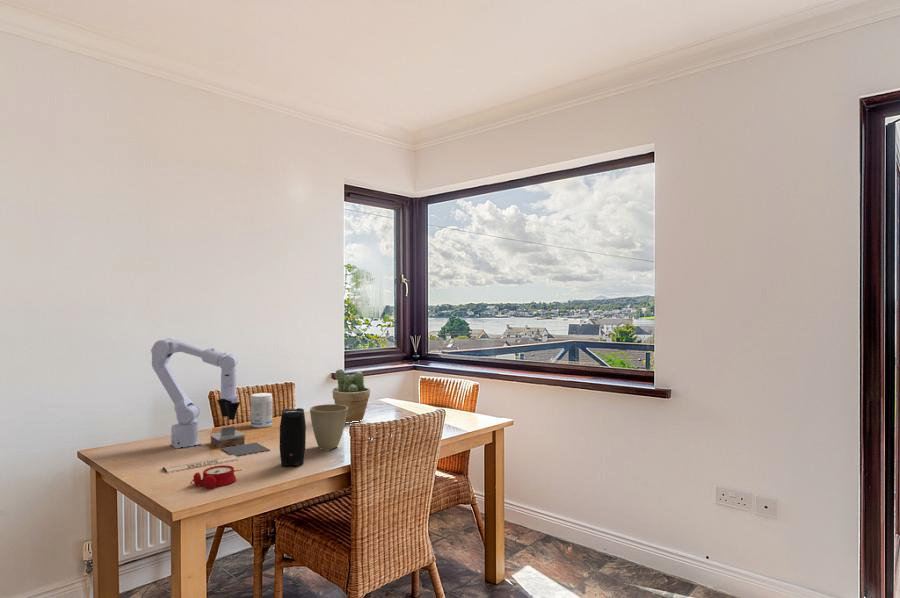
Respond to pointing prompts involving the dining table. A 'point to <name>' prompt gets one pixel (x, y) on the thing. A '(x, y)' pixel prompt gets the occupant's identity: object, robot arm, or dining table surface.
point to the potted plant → (351, 394)
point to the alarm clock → (215, 477)
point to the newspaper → (200, 463)
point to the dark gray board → (245, 449)
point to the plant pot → (328, 424)
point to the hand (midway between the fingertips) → (228, 418)
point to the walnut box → (227, 442)
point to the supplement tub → (261, 410)
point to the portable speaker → (292, 437)
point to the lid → (227, 433)
